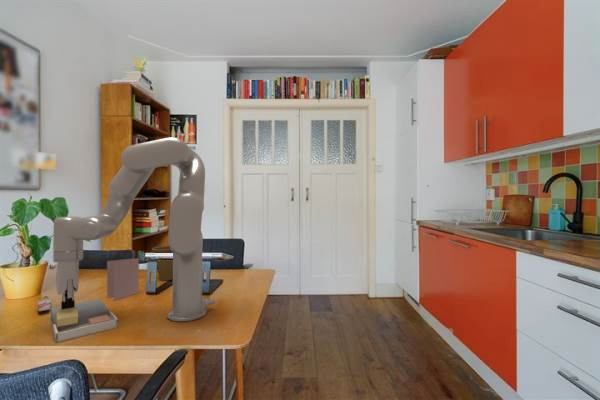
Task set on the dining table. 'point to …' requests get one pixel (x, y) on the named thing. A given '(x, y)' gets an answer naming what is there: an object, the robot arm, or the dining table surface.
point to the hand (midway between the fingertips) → (67, 313)
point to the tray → (83, 329)
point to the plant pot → (164, 264)
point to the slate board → (83, 312)
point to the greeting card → (122, 278)
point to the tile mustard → (67, 316)
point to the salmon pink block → (98, 319)
